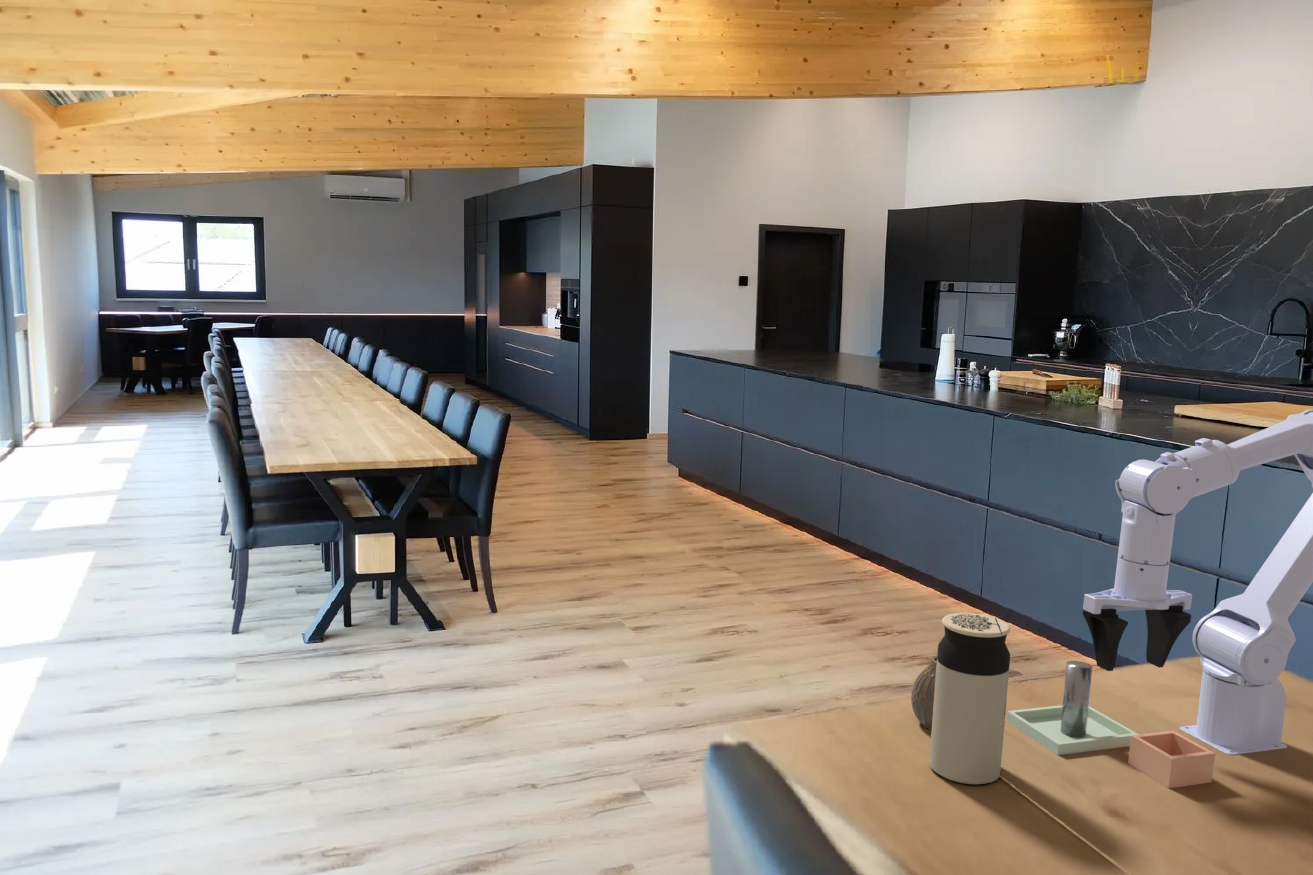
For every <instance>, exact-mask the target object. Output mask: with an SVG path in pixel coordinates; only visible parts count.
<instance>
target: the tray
mask: <svg viewBox="0 0 1313 875" xmlns="http://www.w3.org/2000/svg"><path fill="white" fill-rule="evenodd" d="M1062 707H1063V704H1062V705H1049V706H1041V707H1033V708H1024V709H1023V708H1022V709H1014V710H1006V717H1005V721H1006V722H1007V723H1008V724H1010V725H1012V726H1013V727H1015V728H1016V729H1017V730H1019V731H1021V732H1022V733H1024V734H1025V735H1027V736H1028V737H1030V738H1031V739H1033V740H1035V742H1037V743H1039V744H1040V745H1042V746H1043V747H1045V748H1046V749H1048V750H1049V751H1051V752H1052V753H1054V754H1055V755H1057V756H1061V755H1069V754H1077V753H1087V752H1093V751H1102V750H1108V749H1117V748H1118V749H1119V748H1126V747H1130V740H1131V735H1139V734H1140V733H1138V732H1135V731H1134V730H1132V729H1131V728H1128V727H1126V726H1125V725H1123V724H1121V723H1119V722H1118V721H1116V720H1114V719H1112V718H1111V717H1109V716H1107V715H1106V714H1104V713H1102V712H1101V711H1099V710H1097V709H1095V708H1093V707H1092V706H1090V705H1089V707H1088V718H1087V728H1086V736H1085V737H1083V738H1073V737H1069V736H1066V735H1064V734H1062V733H1061V731H1060V728H1061V718H1062Z"/></svg>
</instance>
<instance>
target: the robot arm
mask: <svg viewBox="0 0 1313 875" xmlns="http://www.w3.org/2000/svg"><path fill="white" fill-rule="evenodd" d="M1194 444H1195V445H1193V446H1191V447H1188V448H1185V449H1182V450H1180V451H1176V452H1168V451H1166V452H1164V453H1161V454H1160V457H1159V458H1158V459H1156V460H1155V461H1152V460H1149V459H1138V460H1134V461H1132V462H1130V463H1129V464H1128V465H1127V466H1126V467H1125V468H1124V469H1123V471H1122V472H1121V474H1120V477H1119V478H1118V479H1116V480H1115V484H1114V486H1115V491H1116V493H1117V496H1118V497H1119V499H1120V502H1121V510H1120V513H1122V517H1121V518H1122V519H1121V527H1120V536H1119V541H1118V542H1119V544H1118V551H1117V561H1116V570H1115V577H1114V584H1113V586H1114V587H1113V588H1109V589H1107V590H1102V591H1098V592H1094V593H1084V598H1083V605H1082V616H1083V617H1084V620H1085V622H1086V624H1087V626H1088V629H1089V633H1090V635H1091V638H1092V643H1093V648H1094V654H1095V659H1096V660H1095V662H1096V666H1097V667H1099V668H1101V669H1103V670H1105V671H1107V672H1113V671H1114V669H1115V665H1116V663H1117V662H1116V660H1117V656H1118V650H1119V646H1120V642H1121V639H1122V636H1123V634H1124V632H1125V631H1126V628H1127V626H1128V625H1129V621H1127V620H1125V619H1122V618H1120V617H1119V614H1117V612H1126V611H1127V612H1129V611H1145V618H1146V628H1147V637H1146V638H1147V640H1146V649H1145V650H1146V651H1145V652H1146V653H1145V656H1146V662H1147V663H1148V664H1150V665H1153V666H1155V667H1156V668H1159V669H1160V668H1164V666H1165V664H1166V661H1167V660H1168V657H1169V655H1170V653H1171V651H1172V648H1173V646H1174V644H1175V643H1176V641H1177V639H1178V638H1179V637H1180V635H1181V633H1182V632H1183V631H1184V630H1185V629H1186V627H1187V626H1188V625H1190V623H1191V622H1192V620H1191V619H1192V615H1191V614H1190V613H1188V612H1186V610H1187V611H1189V610H1191V608H1192V599H1193V594H1192V593H1188V592H1186V591H1184V590H1181V589H1179V590H1176V589H1175V590H1174V589H1173V590H1172V589H1167V588H1168V586H1167V585H1168V581H1169V580H1168V579H1169V570H1170V564H1171V556H1172V548H1173V539H1174V532H1175V531H1174V530H1175V525H1176V516H1177V513H1180V512H1181V511H1182V510H1184V509H1185V507H1186V506H1187V505H1188V503H1189V502H1190V500H1191V499H1193V498H1196V497H1199V496H1201V495H1204V494H1206V493H1210V492H1213V491H1215V490H1218V489H1220V488H1224V487H1226V486H1230V485H1232V484H1234V483H1235V482H1236V481H1237V480H1238V478H1239V475H1240V472H1241V471H1243V470H1247V469H1250V468H1253V467H1257V466H1260V465H1263V464H1267V463H1270V462H1273V461H1277V460H1281V459H1283V458H1284V459H1285V458H1287V457H1290V456H1294V457H1295V458H1296V460H1297V462H1298V464H1299V466H1300V467H1301V469H1302V471H1303V473H1304V474H1305V477H1306V478H1307V479H1308V480H1309V481H1310V482H1311V486H1312V488H1313V408H1311V409H1307V410H1304V411H1302V412H1301V413H1293V414H1289V415H1288V416H1287V417H1286V419H1285V420H1283V421H1281V422H1279V423H1275V424H1273V425H1271V426H1269V427H1267V428H1264V429H1261V430H1259V431H1257V432H1254V433H1252V434H1250V435H1249V434H1248V436H1245V437H1242V438H1240V439H1237V440H1235V441H1232V442H1230V443H1228V444H1227V443H1225V442H1223V441H1220V440H1219V439H1210V438H1205V437H1202V438H1199V439H1197V440H1195V441H1194ZM1312 584H1313V492H1312V493H1311V495H1310V496H1309V497H1308V499H1307V500H1306V502H1305V503H1304V504H1303V506H1302V508H1301V509H1300V511H1299V512H1298V514H1297V515H1296V516H1295V518H1294V520H1293V521H1292V523H1290V525H1289V527H1288V528H1287V529H1286V531H1285V532H1284V534H1283V535H1282V536H1281V538H1280V539H1279V541H1278V542H1277V544H1276V546H1275V547H1274V548H1273V550H1272V551H1271V552H1270V554H1269V555H1268V557H1267V558H1266V560H1265V561H1264V563H1263V564H1262V566H1261V567H1260V568H1259V570H1258V571H1257V573H1256V574H1255V576H1254V577H1253V578H1252V580H1251V581H1250V583H1249V584H1248V586H1247V588H1246V589H1245V591H1244V592H1243V593H1241V594H1238V595H1234V596H1232V597H1229V598H1225V599H1223V600H1221V601H1220V602H1219V603H1218V604H1217V605H1216V607H1215V608H1214V610H1212V611H1211V612H1209V613H1207V614H1206V615H1205V616H1203V617H1202V618H1200V620H1199V621H1198V622H1197V624H1196V625H1195V627H1194V629H1193V631H1192V635H1191V636H1192V645H1193V648H1194V650H1195V651H1196V653H1197V654H1198V655H1200V659H1199V660H1200V661H1199V664H1200V665H1201V666H1202V673H1201V682H1200V683H1201V684H1200V692H1199V700H1198V709H1197V717H1196V724H1192V725H1183V726H1179V730H1181V731H1183V732H1184V733H1186V734H1188V735H1189V736H1192V737H1194V738H1196V739H1197V740H1199V741H1201V742H1203V743H1205V744H1207V745H1208V746H1211V747H1212V748H1214V749H1216V750H1218V751H1220V752H1221V753H1224V754H1226V755H1228V756H1236V755H1242V754H1243V755H1244V754H1251V753H1257V752H1266V751H1272V750H1280V749H1281V750H1282V749H1287V748H1288V745H1286V744H1284V743H1283V742H1282V740H1283V731H1284V723H1285V717H1286V716H1285V715H1286V708H1287V694H1286V690H1285V688H1284V685H1283V684H1282V682H1281V681H1280V679H1278V678H1279V677H1280V676H1281V675H1282V673H1283V672H1284V670H1285V668H1286V666H1287V662H1288V657H1289V653H1290V651H1291V649H1292V647H1293V646H1294V644H1295V643H1296V641H1297V638H1296V636H1295V633H1294V631H1293V629H1292V626H1291V625H1290V624H1291V623H1290V622H1289V617H1290V616H1291V614H1292V613H1293V611H1294V610H1295V609H1296V607H1297V606H1298V605H1299V603H1300V601H1301V600H1302V598H1303V597H1304V596H1305V595H1306V593H1307V592H1308V590H1309V588H1310V586H1312ZM1183 610H1185V611H1183Z"/></svg>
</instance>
